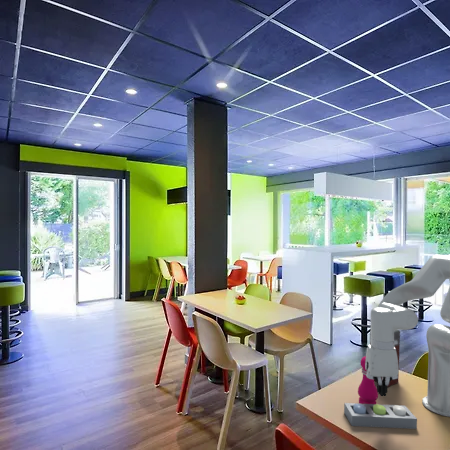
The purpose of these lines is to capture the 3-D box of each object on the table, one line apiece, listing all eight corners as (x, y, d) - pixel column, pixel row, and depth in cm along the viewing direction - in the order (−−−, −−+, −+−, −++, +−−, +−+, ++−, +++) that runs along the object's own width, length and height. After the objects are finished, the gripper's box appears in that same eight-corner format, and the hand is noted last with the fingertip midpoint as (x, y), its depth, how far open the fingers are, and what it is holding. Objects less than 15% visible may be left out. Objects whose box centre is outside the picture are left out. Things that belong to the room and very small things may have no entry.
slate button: (362, 414, 119) (363, 403, 119) (367, 421, 115) (367, 410, 115) (351, 414, 119) (351, 403, 119) (355, 421, 115) (355, 409, 115)
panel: (404, 415, 120) (404, 405, 120) (416, 428, 112) (417, 418, 112) (344, 412, 121) (344, 402, 121) (351, 425, 113) (352, 415, 113)
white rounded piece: (401, 416, 118) (402, 405, 118) (407, 423, 114) (408, 412, 114) (390, 416, 119) (391, 405, 118) (396, 422, 115) (396, 411, 114)
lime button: (382, 415, 119) (382, 404, 119) (387, 422, 115) (387, 411, 115) (371, 415, 119) (371, 404, 119) (375, 421, 115) (376, 410, 115)
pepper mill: (379, 411, 122) (381, 357, 122) (359, 408, 124) (361, 355, 124) (375, 400, 130) (376, 350, 129) (355, 398, 131) (357, 348, 131)
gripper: (398, 339, 120) (398, 389, 120) (356, 339, 120) (356, 388, 121) (409, 347, 112) (408, 400, 113) (364, 347, 113) (364, 400, 113)
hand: (381, 394), depth 117 cm, fingers closed
